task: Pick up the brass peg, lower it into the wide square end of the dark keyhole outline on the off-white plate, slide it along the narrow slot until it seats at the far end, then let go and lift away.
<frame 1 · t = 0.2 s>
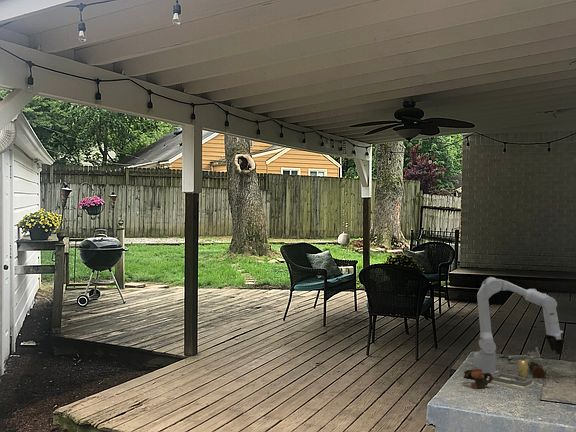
hand: (556, 352, 245), 11 cm above the table, tool pointing down, fingers open, 7 cm apart
keyhole plate: (510, 383, 233), on the table
bike brake: (520, 362, 269), on the table
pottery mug: (478, 386, 229), on the table
brass peg: (523, 378, 240), on the table
bolt: (535, 374, 248), on the table
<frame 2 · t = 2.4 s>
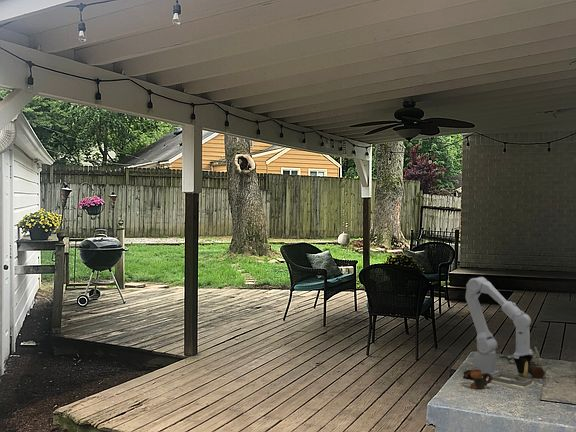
hand: (523, 372, 240), 3 cm above the table, tool pointing down, fingers closed on brass peg, 4 cm apart
brass peg: (523, 378, 240), on the table, touching gripper
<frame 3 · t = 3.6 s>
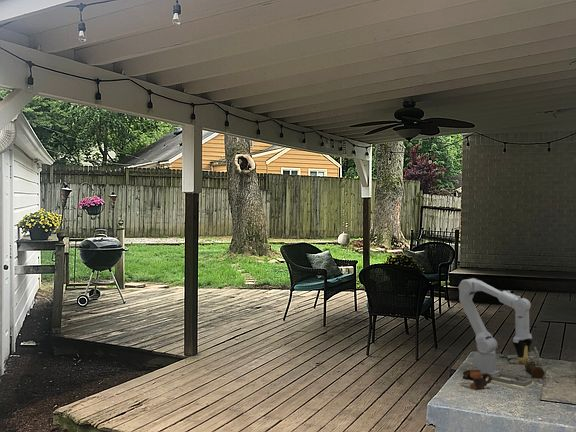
hand: (522, 356, 240), 10 cm above the table, tool pointing down, fingers closed on brass peg, 4 cm apart
brass peg: (522, 363, 240), point 7 cm above the table, touching gripper
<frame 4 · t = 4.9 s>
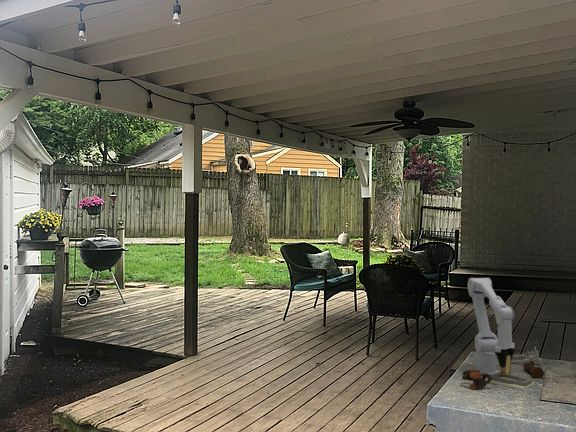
hand: (505, 366, 235), 7 cm above the table, tool pointing down, fingers closed on brass peg, 4 cm apart
brass peg: (505, 373, 234), point 4 cm above the table, touching gripper
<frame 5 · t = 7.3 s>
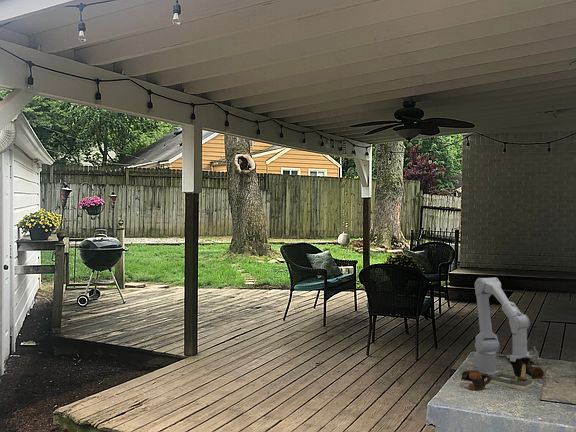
hand: (520, 375, 230), 4 cm above the table, tool pointing down, fingers closed on brass peg, 4 cm apart
brass peg: (520, 382, 229), point 1 cm above the table, touching gripper
when the fingers open (4 cm above the table, at t = 7.8 s): brass peg stays where it is, resting on keyhole plate.
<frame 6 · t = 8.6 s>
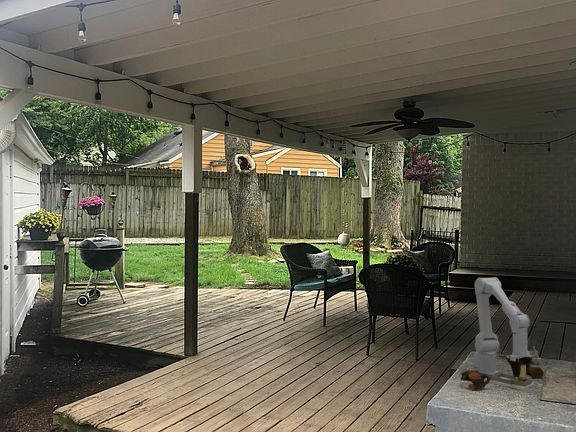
hand: (520, 375, 230), 4 cm above the table, tool pointing down, fingers open, 7 cm apart
brass peg: (520, 383, 229), point 1 cm above the table, touching keyhole plate
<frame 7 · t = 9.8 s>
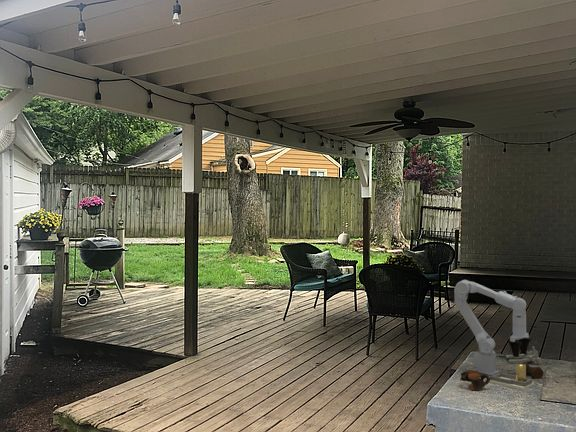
hand: (519, 355, 244), 9 cm above the table, tool pointing down, fingers open, 7 cm apart
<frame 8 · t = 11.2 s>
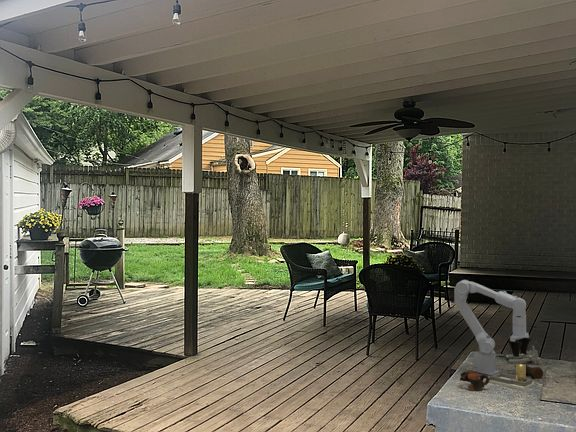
hand: (519, 355, 244), 9 cm above the table, tool pointing down, fingers open, 7 cm apart
at the end: brass peg 0.2 cm from the target spot on the keyhole plate, point 1.0 cm above the keyhole plate's base; brass peg tilted 0°; the gripper is holding nothing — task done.
